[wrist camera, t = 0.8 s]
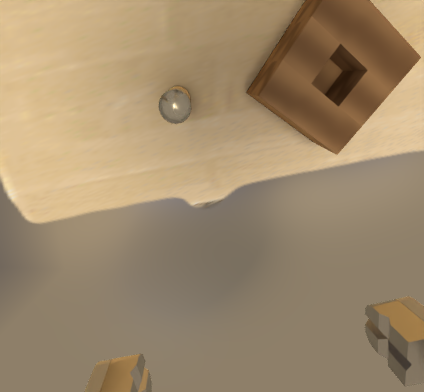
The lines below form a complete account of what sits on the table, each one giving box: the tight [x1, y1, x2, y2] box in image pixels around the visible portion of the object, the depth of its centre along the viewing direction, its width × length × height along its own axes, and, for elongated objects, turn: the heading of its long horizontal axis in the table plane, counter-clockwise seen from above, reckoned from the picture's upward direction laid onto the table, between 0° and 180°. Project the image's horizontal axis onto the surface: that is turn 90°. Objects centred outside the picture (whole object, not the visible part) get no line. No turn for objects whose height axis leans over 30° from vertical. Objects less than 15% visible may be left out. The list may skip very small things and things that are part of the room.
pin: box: [159, 86, 191, 124], centre depth 35 cm, size 4×4×11 cm
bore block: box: [246, 0, 421, 154], centre depth 36 cm, size 16×16×8 cm
